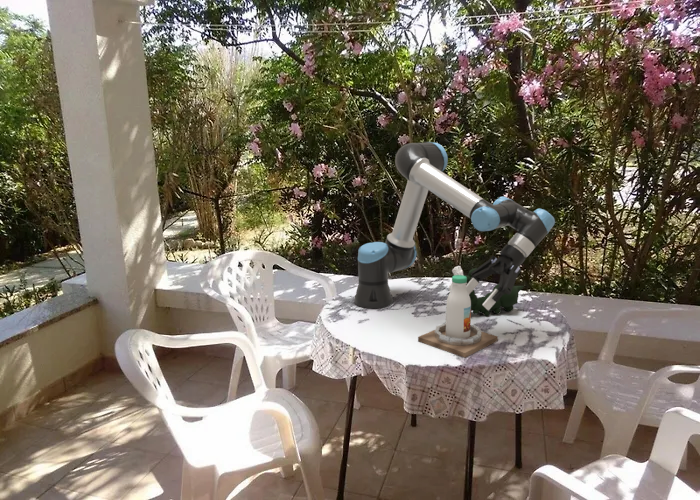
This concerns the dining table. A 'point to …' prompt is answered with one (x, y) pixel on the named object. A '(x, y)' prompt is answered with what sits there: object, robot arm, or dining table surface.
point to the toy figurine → (504, 301)
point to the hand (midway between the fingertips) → (473, 301)
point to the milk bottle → (458, 309)
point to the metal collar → (458, 341)
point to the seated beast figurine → (456, 271)
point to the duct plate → (455, 349)
